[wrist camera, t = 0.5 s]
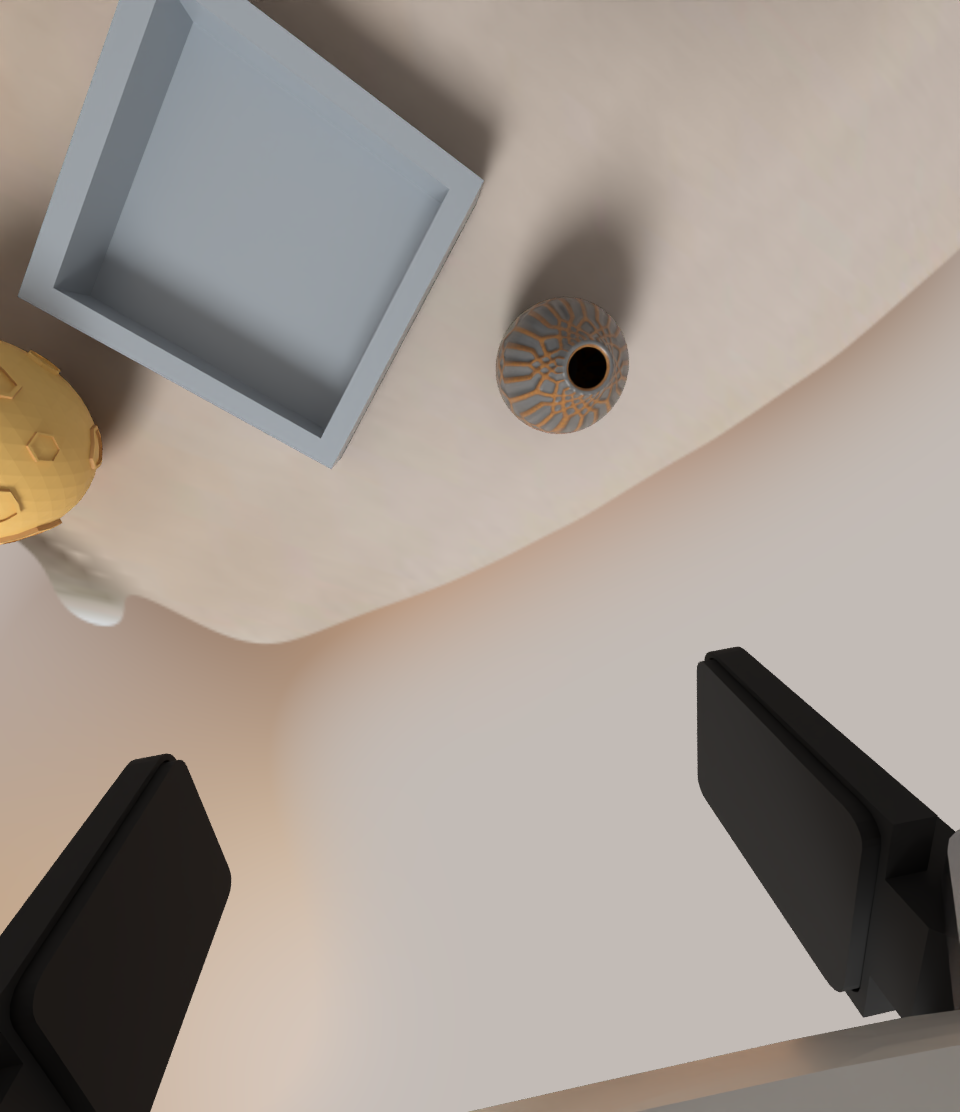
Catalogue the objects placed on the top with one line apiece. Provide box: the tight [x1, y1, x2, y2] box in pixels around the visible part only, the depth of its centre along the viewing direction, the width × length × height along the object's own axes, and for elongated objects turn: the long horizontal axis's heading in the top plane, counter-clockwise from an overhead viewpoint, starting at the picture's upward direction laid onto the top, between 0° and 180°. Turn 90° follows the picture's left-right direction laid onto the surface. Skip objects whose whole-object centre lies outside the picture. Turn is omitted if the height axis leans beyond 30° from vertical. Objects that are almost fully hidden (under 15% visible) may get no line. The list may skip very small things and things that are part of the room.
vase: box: [496, 297, 629, 434], centre depth 28 cm, size 7×7×9 cm
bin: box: [18, 0, 484, 469], centre depth 27 cm, size 16×16×4 cm
